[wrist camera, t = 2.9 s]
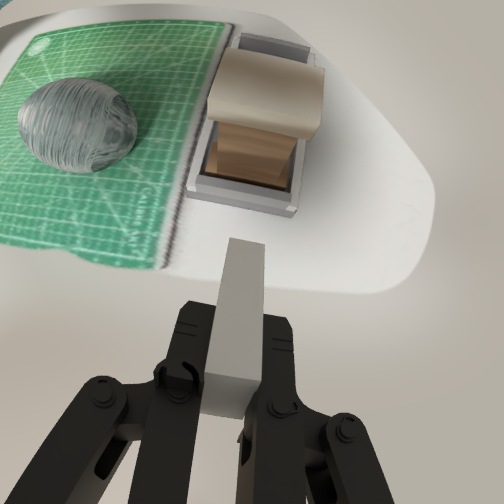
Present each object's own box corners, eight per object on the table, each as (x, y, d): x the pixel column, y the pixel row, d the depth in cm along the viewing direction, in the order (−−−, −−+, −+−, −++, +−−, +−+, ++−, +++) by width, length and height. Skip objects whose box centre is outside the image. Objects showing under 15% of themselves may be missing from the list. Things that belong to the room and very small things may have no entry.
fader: (282, 198, 26) (329, 125, 15) (203, 182, 26) (198, 97, 14) (288, 156, 27) (332, 71, 15) (214, 140, 27) (218, 46, 15)
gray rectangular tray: (291, 218, 29) (302, 205, 25) (187, 197, 28) (183, 181, 24) (309, 70, 32) (318, 49, 28) (230, 53, 32) (233, 31, 28)
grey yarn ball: (167, 99, 26) (96, 68, 17) (136, 189, 28) (59, 190, 19) (87, 85, 29) (24, 68, 19) (64, 157, 31) (-1, 154, 22)
